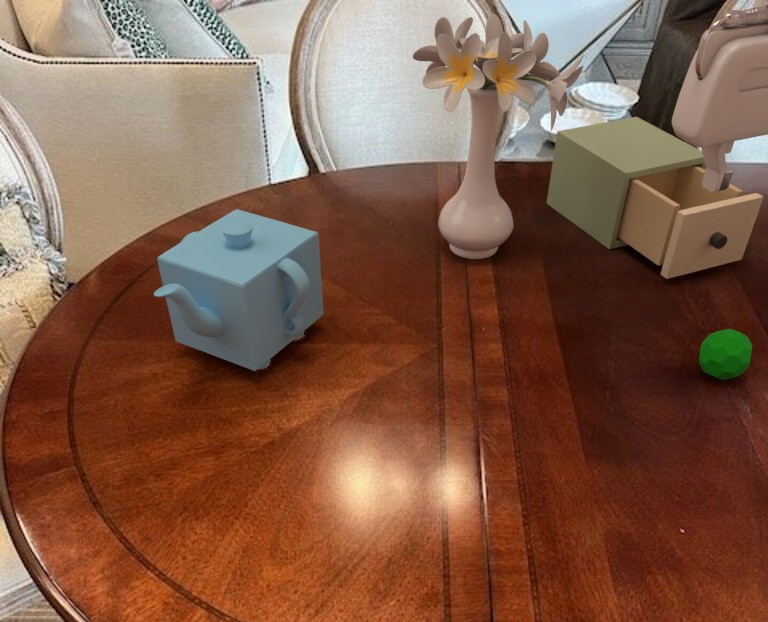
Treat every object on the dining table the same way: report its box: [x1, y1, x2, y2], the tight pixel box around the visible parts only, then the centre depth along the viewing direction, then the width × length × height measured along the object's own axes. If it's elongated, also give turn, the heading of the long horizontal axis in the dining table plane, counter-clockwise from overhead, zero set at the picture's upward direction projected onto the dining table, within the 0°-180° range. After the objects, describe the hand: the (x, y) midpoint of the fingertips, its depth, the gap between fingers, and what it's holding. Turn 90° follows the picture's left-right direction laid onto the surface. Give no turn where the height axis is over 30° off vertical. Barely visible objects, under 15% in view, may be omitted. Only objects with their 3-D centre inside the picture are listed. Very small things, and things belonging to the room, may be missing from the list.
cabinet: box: [546, 116, 706, 250], centre depth 102 cm, size 15×13×10 cm
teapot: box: [153, 208, 325, 372], centre depth 78 cm, size 18×16×13 cm
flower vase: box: [412, 13, 585, 260], centre depth 90 cm, size 13×18×25 cm
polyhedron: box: [698, 328, 753, 381], centre depth 79 cm, size 5×5×5 cm
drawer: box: [617, 165, 764, 280], centre depth 95 cm, size 15×11×8 cm
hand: (755, 180), depth 70 cm, fingers open, 8 cm apart
